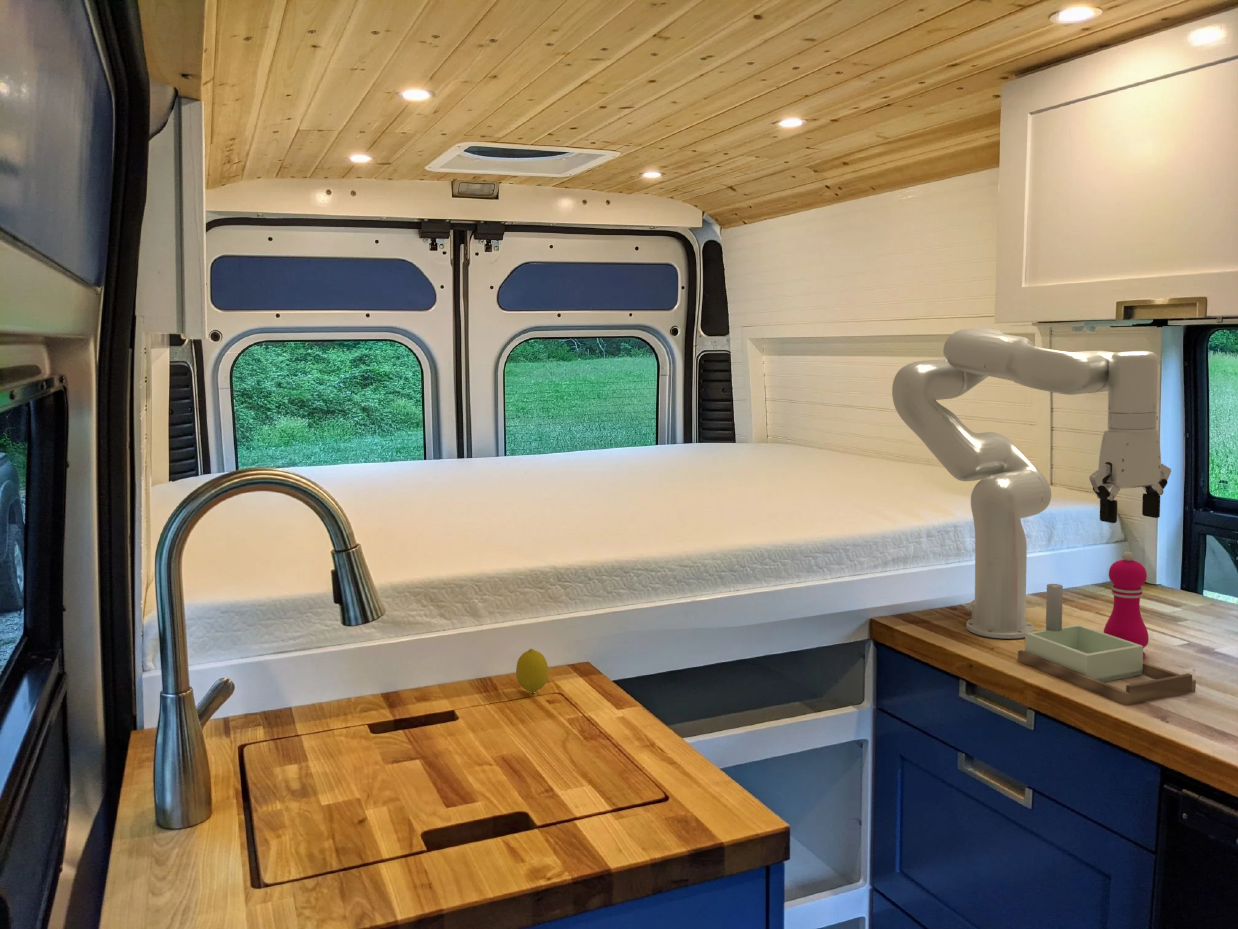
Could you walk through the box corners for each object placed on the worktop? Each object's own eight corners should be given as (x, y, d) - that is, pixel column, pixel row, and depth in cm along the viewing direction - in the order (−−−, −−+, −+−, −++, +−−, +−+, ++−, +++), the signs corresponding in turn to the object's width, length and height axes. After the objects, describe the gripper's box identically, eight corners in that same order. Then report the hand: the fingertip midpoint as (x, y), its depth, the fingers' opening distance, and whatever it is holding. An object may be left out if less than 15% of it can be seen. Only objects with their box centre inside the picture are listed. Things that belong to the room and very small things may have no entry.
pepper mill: (1156, 666, 170) (1159, 555, 168) (1114, 668, 170) (1117, 556, 168) (1135, 653, 177) (1138, 546, 175) (1095, 655, 177) (1097, 547, 175)
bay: (1017, 667, 172) (1018, 645, 172) (1081, 656, 177) (1081, 634, 177) (1125, 712, 150) (1126, 687, 150) (1195, 698, 155) (1196, 674, 155)
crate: (1021, 658, 173) (1022, 587, 171) (1074, 649, 177) (1075, 580, 175) (1086, 685, 159) (1088, 608, 158) (1142, 674, 163) (1144, 599, 161)
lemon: (548, 698, 165) (546, 653, 164) (515, 700, 165) (513, 654, 164) (550, 687, 171) (548, 643, 170) (518, 688, 171) (516, 644, 170)
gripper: (1151, 418, 175) (1149, 511, 177) (1075, 424, 169) (1074, 520, 171) (1188, 420, 168) (1185, 518, 170) (1110, 426, 162) (1108, 527, 164)
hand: (1129, 519), depth 170 cm, fingers open, 9 cm apart
